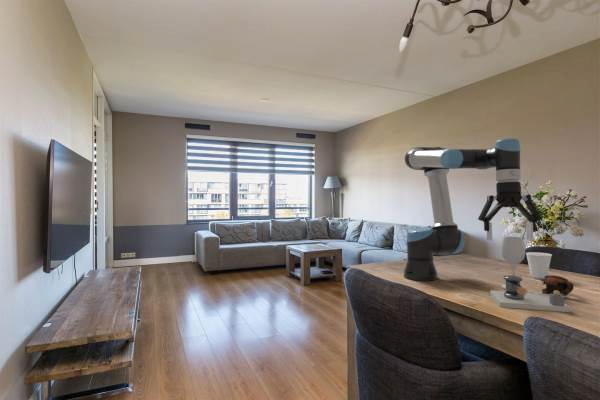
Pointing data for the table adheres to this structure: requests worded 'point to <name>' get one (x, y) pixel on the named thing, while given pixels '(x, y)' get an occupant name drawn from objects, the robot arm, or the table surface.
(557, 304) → the level board
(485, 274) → the table surface
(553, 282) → the brown animal figurine
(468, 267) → the table surface
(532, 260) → the cup
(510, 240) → the wineglass
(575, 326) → the table surface
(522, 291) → the capstan
